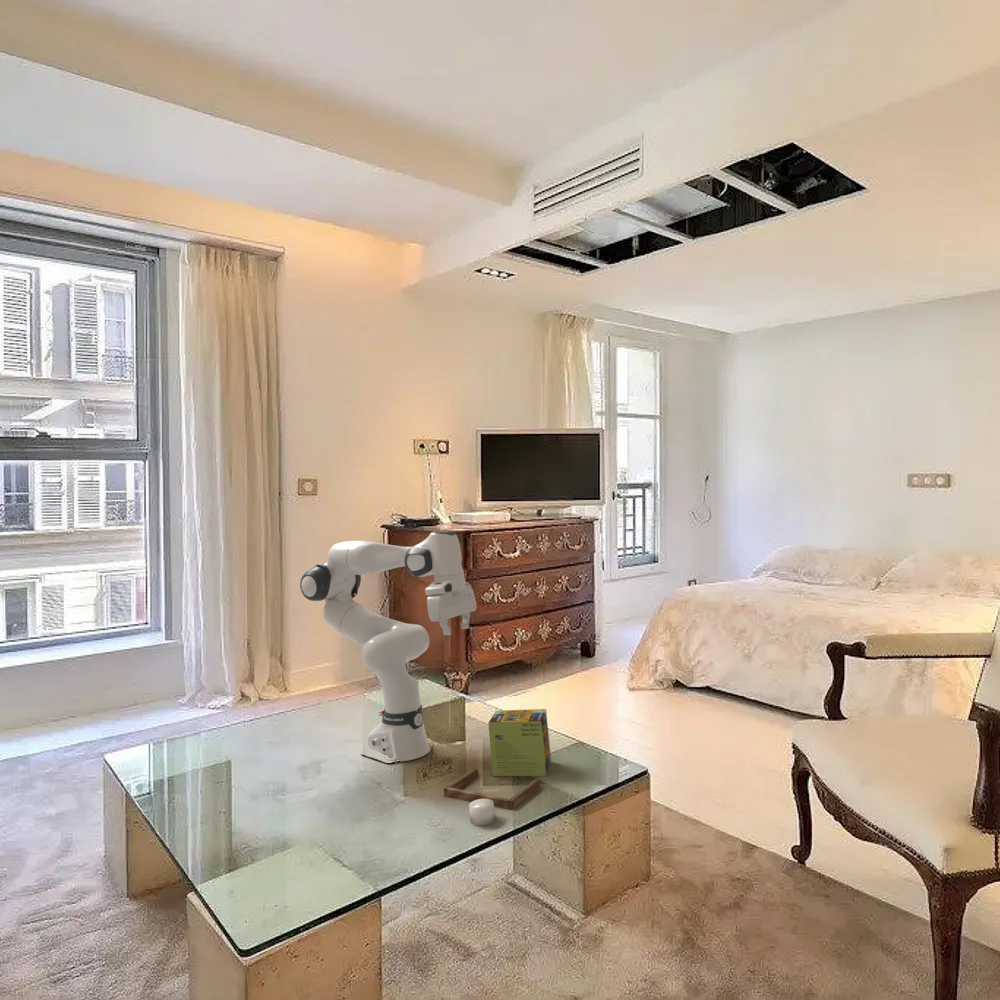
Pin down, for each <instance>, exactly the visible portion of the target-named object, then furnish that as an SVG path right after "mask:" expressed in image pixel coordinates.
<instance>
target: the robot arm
mask: <svg viewBox="0 0 1000 1000" xmlns="http://www.w3.org/2000/svg"><path fill="white" fill-rule="evenodd" d="M462 561H463V557H462V550H461V546H460V540H459V538H458V535H457V534H456V532H454V531H451V530H434V531H432V532H430V533H429V535H428V536H427V537H426V538H425V539H424V540H423V541H421V542H419V543H418V544H415V545H413V546H402V545H393V544H387V543H382V542H376V541H369V540H345V541H341V542H337V543H334V544H333V545H332V546H331V547H330V549H329V550H328V554H327V561H326V562H325V563H324V564H323V563H319V562H318V563H317V564H316V565H314V567H311V568H310V569H309V570H307V571H306V572H304V574H303V575H302V576H301V578H300V582H299V583H300V584H299V585H300V586H299V587H300V591H301V593H302V595H303V597H304V598H305V599H307V600H308V601H312V602H321V601H322V602H323V600H324V601H325V603H324V605H323V608H322V616H323V619H324V620H325V621H326V622H327V623H328V624H329V625H330V626H331V627H332V628H333V630H336V631H337V632H338V633H340V634H341V635H343V636H345V637H346V638H348V639H349V640H351V641H352V642H354V643H355V644H357V645H359V646H361V647H362V649H361V658H362V662H363V663H364V665H365V667H367V669H369V670H371V671H372V672H373V673H374V674H375V675H376V677H377V678H378V680H379V682H380V685H381V687H382V689H381V690H382V694H383V695H382V696H383V701H384V703H383V704H384V709H383V710H382V711H379V715H378V716H379V717H382V719H381V722H379V724H377V725H376V726H375V727H374V728H372V730H371V731H370V732H369V734H368V736H367V746H368V748H371V749H373V750H376V751H378V752H380V753H382V754H384V755H387V757H389V758H390V759H383V760H385V761H397V760H399V761H400V762H406V761H407V762H408V761H412V760H416V759H419V758H422V757H424V756H425V755H428V753H430V752H431V747H430V745H429V744H430V743H429V740H428V739H427V738H428V737H427V733H426V729H425V724H424V712H423V705H422V703H421V696H420V687H419V681H418V680H417V678H415V677H414V676H412V675H410V674H409V672H408V669H407V666H406V665H407V664H406V663H408V662H410V661H413V660H416V659H417V658H419V657H420V656H422V654H424V653H425V652H426V651H427V650H428V648H429V646H430V635H429V633H428V631H427V629H426V628H425V627H424V626H422V625H420V624H415V623H406V622H402V621H399V620H395V619H392V618H389V617H386V616H383V615H380V614H378V613H376V612H374V611H373V610H371V609H370V608H367V607H366V606H364V605H362V604H360V603H358V602H357V601H355V600H354V599H353V598H355V597H356V596H357V595H358V594H359V588H360V586H361V581H362V576H369V575H373V574H378V573H381V572H382V573H383V572H386V571H389V570H392V569H397V568H402V567H405V569H406V571H407V573H408V574H410V575H411V576H412V577H417V578H423V577H429V576H433V579H434V580H433V581H432V582H431V583H430V584H429V585H428V586H427V587H425V589H424V593H425V595H426V596H427V599H426V605H427V613H428V618H429V620H430V621H431V622H434V623H435V622H438V623H439V626H440V628H441V629H442V633H443V636H450V635H452V629H451V627H449V625H448V624H449V623H448V622H449V620H448V619H451V618H455V617H459V616H461V618H462V622H461V623H460V626H461V629H462V630H467V629H469V628H470V625H469V622H470V619H471V613H472V612H475V611H476V610H477V601H476V596H475V593H474V589H473V588H472V585H471V584H470V583H469V582H468V581H467V580H466V579H465V573H464V569H463V566H462ZM384 758H385V757H384Z"/></svg>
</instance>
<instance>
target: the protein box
mask: <svg viewBox="0 0 1000 1000" xmlns="http://www.w3.org/2000/svg"><path fill="white" fill-rule="evenodd" d="M487 724H488V733H489V734H488V735H489V745H490V755H491V756H490V757H491V768H492V777H547V774H548V771H549V769H550V766H551V763H552V755H551V746H550V745H551V743H550V738H549V737H550V734H549V724H548V716H547V708H537V709H534V708H533V709H530V708H529V709H510V710H509V709H508V710H507V709H504V710H501V709H500V710H495V712H494V714H493V715H492V717H491V718H490V719H489V721H488V723H487Z"/></svg>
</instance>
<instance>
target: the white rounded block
mask: <svg viewBox="0 0 1000 1000" xmlns="http://www.w3.org/2000/svg"><path fill="white" fill-rule="evenodd" d="M468 809H469V818H470V819H469V820H470V824H472V825H474V826H477V827H478V826H479V827H482V825H484V826H488V825H491V824H492V823H493V822H495V820H496V818H495V817H496V814H495V806H494V803H493V801H492V800H490V799H477V800H474V801H470V803H469V804H468ZM487 824H488V825H487Z"/></svg>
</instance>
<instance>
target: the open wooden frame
mask: <svg viewBox="0 0 1000 1000" xmlns="http://www.w3.org/2000/svg"><path fill="white" fill-rule="evenodd" d="M478 777H479V769H478V767H477V768H472V769H471V770H470V771H468V772H466V773H465V774H463V775H461V776H460V777H459V778H457V779H456V780H455V781H453V782H451V783H450V784H448V785H447V786H445V787H444V788H443V795H444V797H448V798H453V799H459V800H464V801H468V802H472V801H474V800H477V799H490V800H492V801H493V803H494V807H497V808H503V809H508V810H514V809H515V808H516V807H517V806H519V805H520V804H521V803H522V802H524V800H526V799H527V798H528V797H530V794H531V793H532V792H533V793H535V790H536V789H537V790H538V789H539V788H541V779H540V778H534V779H533V780H532V781H531V782H529V783H528V784H527V785H526V786H524V787H523V788H522V789H520V790H519V791H518V792H517V793H515V794H514V795H513V796H512V797H510V798H508V797H502V796H498V795H492V794H486V793H482V792H481V793H480V792H476V791H472V790H471V791H469V790H465V789H461V788H463V787H465V786H466V785H467V784H469V783H470V782H471V781H473V780H474V779H476V778H478ZM537 790H536V791H537ZM533 793H532V794H533ZM532 794H531V795H532ZM527 796H528V797H527Z"/></svg>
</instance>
